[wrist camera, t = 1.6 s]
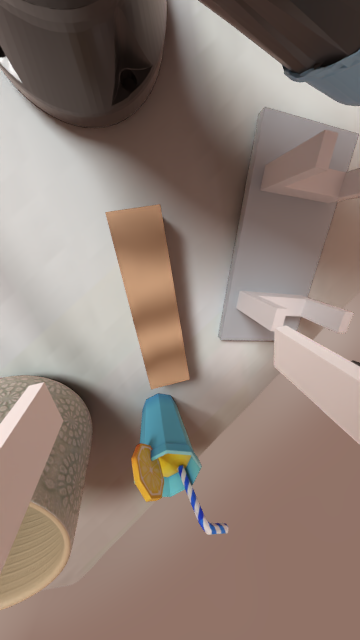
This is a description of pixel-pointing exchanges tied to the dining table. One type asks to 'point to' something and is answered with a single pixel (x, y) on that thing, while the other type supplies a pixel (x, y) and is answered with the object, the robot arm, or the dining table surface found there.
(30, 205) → the dining table surface
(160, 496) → the cup
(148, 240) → the rail
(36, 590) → the planter
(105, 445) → the dining table surface
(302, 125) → the bracket board
